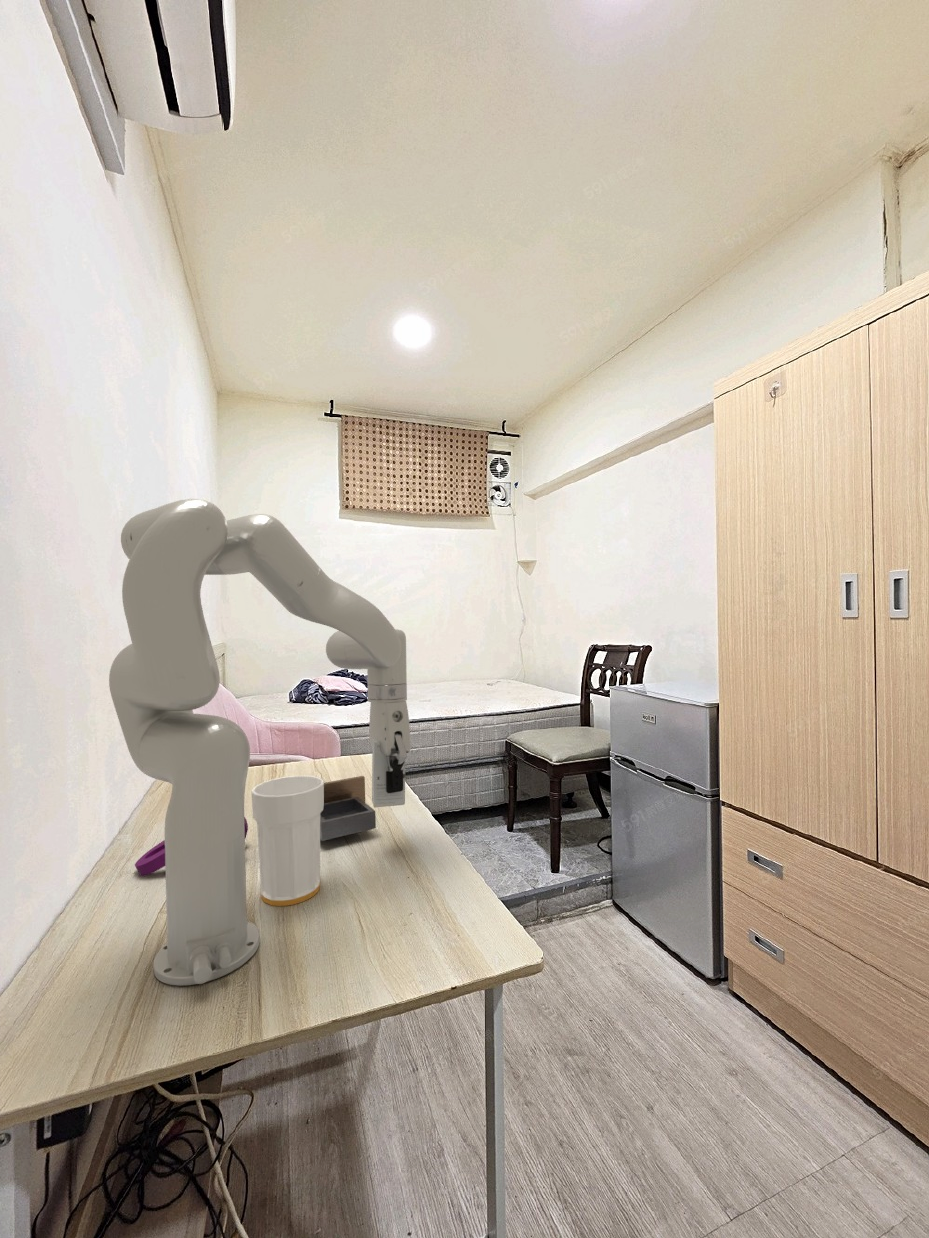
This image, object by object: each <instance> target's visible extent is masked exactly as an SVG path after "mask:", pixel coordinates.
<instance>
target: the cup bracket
mask: <svg viewBox="0 0 929 1238" xmlns="http://www.w3.org/2000/svg"><path fill="white" fill-rule="evenodd" d="M365 780H366V779H365V776H364V775H359V776H354V777H349V778H343V779H338V780H333V781H331V780H330V781H327V782H324V807H323V811H322V812H321V813H320V841H322V842H323V841H324V842H325V841H327V840H333V839H336V838H340V837H344V836H349V835H352V834H353V835H354V834H357V833H360V832H365V831H370V830H374V829H376V828H377V822H376V820H377V818H376V810H375V808H373V807H371V806H370V805H369V804H368V803H367V802H366V781H365Z"/></svg>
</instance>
